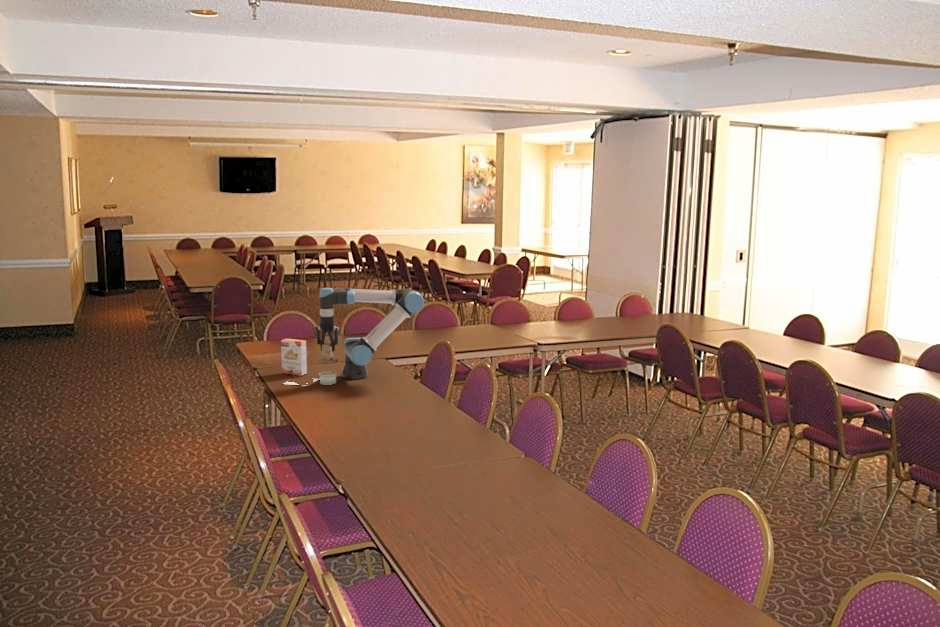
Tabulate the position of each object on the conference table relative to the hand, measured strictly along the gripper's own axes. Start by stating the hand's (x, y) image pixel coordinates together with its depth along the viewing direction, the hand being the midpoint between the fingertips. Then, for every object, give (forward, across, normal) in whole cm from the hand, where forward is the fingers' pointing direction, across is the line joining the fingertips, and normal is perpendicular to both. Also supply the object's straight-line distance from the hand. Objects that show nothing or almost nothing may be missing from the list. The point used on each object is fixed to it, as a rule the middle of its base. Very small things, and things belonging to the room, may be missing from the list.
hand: (327, 356), depth 434 cm
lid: (+3, 0, 0) cm, 3 cm away
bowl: (+16, 0, 0) cm, 16 cm away
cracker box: (+16, -28, +16) cm, 36 cm away
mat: (+16, -16, 0) cm, 23 cm away
